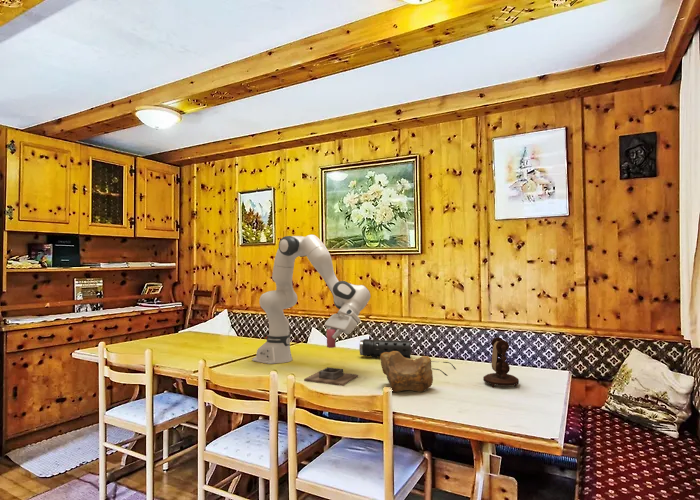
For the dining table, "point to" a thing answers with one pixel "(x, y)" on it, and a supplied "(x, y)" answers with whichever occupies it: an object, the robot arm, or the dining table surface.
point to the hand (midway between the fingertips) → (329, 337)
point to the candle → (330, 338)
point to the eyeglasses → (442, 371)
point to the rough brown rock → (407, 372)
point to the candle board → (331, 377)
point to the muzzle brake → (384, 347)
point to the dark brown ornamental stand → (500, 365)
